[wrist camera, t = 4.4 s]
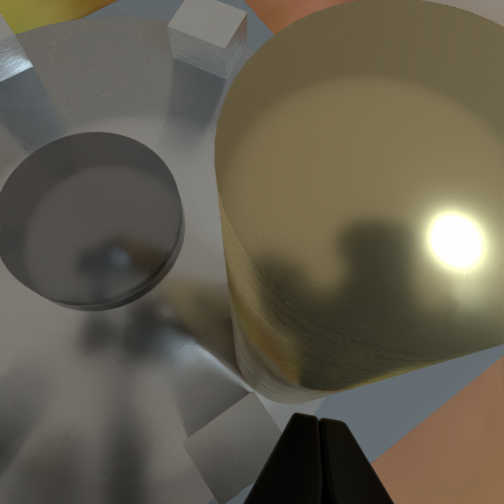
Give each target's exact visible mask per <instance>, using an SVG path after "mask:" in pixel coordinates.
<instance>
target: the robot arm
mask: <svg viewBox="0 0 504 504" xmlns="http://www.w3.org/2000/svg"><path fill="white" fill-rule="evenodd" d="M243 504H394V503H393V501H392V499H391V498H390V496H389V494H388V492H387V491H386V489H385V487H384V486H383V484H382V482H381V481H380V479H379V477H378V476H377V474H376V472H375V471H374V469H373V467H372V466H371V464H370V462H369V461H368V459H367V457H366V456H365V454H364V452H363V451H362V449H361V447H360V446H359V444H358V442H357V441H356V439H355V437H354V436H353V434H352V432H351V431H350V429H349V427H348V426H347V424H346V423H345V422H343V421H340V420H335V419H330V418H324V417H323V418H320V419H319V420H318V418H317V417H316V416H314V415H308V414H303V413H298V412H296V413H294V414H292V416H291V418H290V419H289V421H288V423H287V425H286V427H285V429H284V430H283V432H282V434H281V436H280V438H279V439H278V441H277V443H276V445H275V447H274V449H273V450H272V452H271V454H270V456H269V458H268V459H267V461H266V463H265V465H264V467H263V468H262V470H261V472H260V474H259V476H258V478H257V479H256V481H255V483H254V485H253V487H252V488H251V490H250V492H249V494H248V496H247V498H246V499H245V501H244V503H243Z"/></svg>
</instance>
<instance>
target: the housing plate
mask: <svg viewBox="0 0 504 504" xmlns="http://www.w3.org/2000/svg"><path fill="white" fill-rule="evenodd" d="M217 1H219V2H222V3H225V4H227V5H230V6H233V7H235V8H238V9H241V10H243V11H246V12H247V47H248V48H250V49H252V50H253V51H255V52H256V51H257V50H258V49H259V48H260V47H261V46H262V45H263V44H264V43H265V42H267V41H268V40H269V39H270V38H271V37H273V36H274V34H273V33H272V32H271V31H270V29H269V28H268V27H267V26H266V25H265V24H264V23H263V22H262V20H261V19H260V18H259V17H258V16H257V15H256V14H255V13H254V11H253V10H252V9H251V8H250V7H249V6H248V5H247V4H246V2H245V1H244V0H217ZM183 2H184V0H118V1H116V2H114V3H112V4H110V5H108V6H106V7H104V8H102V9H100V10H98V11H96V12H94V13H92V14H90V15H88V16H86V17H83V18H81V19H87V18H97V17H142V18H152V19H162V20H168V21H171V20H172V18H173V17H174V15H175V14H176V12H177V11H178V9H179V8H180V6H181V5H182V3H183ZM503 355H504V344H503V345H499V346H496V347H493V348H490V349H486V350H483V351H479V352H476V353H473V354H469V355H466V356H462V357H459V358H456V359H452V360H449V361H445V362H442V363H439V364H435V365H432V366H428V367H425V368H422V369H418V370H415V371H412V372H408V373H405V374H401V375H398V376H395V377H391V378H388V379H384V380H381V381H378V382H374V383H371V384H367V385H364V386H361V387H357V388H354V389H350V390H347V391H344V392H340V393H337V394H333V395H330V396H327V397H325V399H324V400H323V402H322V403H321V405H320V406H319V408H318V409H317V411H316V412H315V414H314V416H316V417H317V418H318V420H319V419H320V418H323V417H324V418H330V419H335V420H340V421H343V422H345V423H346V424H347V426H348V427H349V429H350V431H351V432H352V434H353V436H354V437H355V439H356V441H357V442H358V444H359V446H360V447H361V449H362V451H363V452H364V454H365V456H366V457H367V459H368V461H369V462H370V463H372V462H373V461H374V460H375V459H377V458H378V457H379V456H380V455H381V454H383V453H384V452H385V451H386V450H388V449H389V448H390V447H391V446H393V445H394V444H395V443H396V442H397V441H399V440H400V439H401V438H402V437H404V436H405V435H406V434H407V433H409V432H410V431H411V430H412V429H413V428H415V427H416V426H417V425H418V424H420V423H421V422H422V421H423V420H425V419H426V418H427V417H428V416H429V415H431V414H432V413H433V412H434V411H436V410H437V409H438V408H439V407H441V406H442V405H443V404H444V403H445V402H447V401H448V400H449V399H450V398H452V397H453V396H454V395H455V394H457V393H458V392H459V391H460V390H461V389H463V388H464V387H465V386H466V385H468V384H469V383H470V382H471V381H473V380H474V379H475V378H476V377H477V376H479V375H480V374H481V373H482V372H484V371H485V370H486V369H487V368H489V367H490V366H491V365H492V364H493V363H495V362H496V361H497V360H498V359H500V358H501V357H502V356H503ZM255 481H256V480H255ZM255 481H254V482H253V483H251V484H250V485H249V486H248V487H246V488H245V489H244V490H242V491H241V492H240V493H239V494H237V495H236V496H235V497H233V498H232V499H231V500H229V501H228V502H227V503H226V504H243V503H244V501H245V499H246V498H247V496H248V494H249V492H250V490H251V488H252V487H253V485H254V483H255ZM205 504H218V502H217V501H216V499H213V500H211V501H209V502H207V503H205Z"/></svg>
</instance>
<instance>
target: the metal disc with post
mask: <svg viewBox="0 0 504 504" xmlns="http://www.w3.org/2000/svg"><path fill="white" fill-rule="evenodd" d="M503 344H504V27H503V26H501V25H499V24H497V23H495V22H493V21H491V20H488V19H486V18H484V17H481V16H479V15H476V14H474V13H471V12H468V11H465V10H461V9H458V8H455V7H451V6H448V5H443V4H439V3H434V2H429V1H422V0H361V1H354V2H349V3H345V4H340V5H335V6H332V7H329V8H326V9H323V10H320V11H317V12H314V13H312V14H310V15H308V16H306V17H304V18H302V19H299V20H297V21H295V22H294V23H292V24H290V25H289V26H287V27H286V28H284V29H282V30H281V31H279V32H278V33H276V34H275V35H274V36H273V37H271V38H270V39H269V40H268V41H267V42H265V43H264V44H263V45H262V46H261V47H260V48H259V49H258V50H257V51H256V52H255V51H253V50H252V49H250V48H248V47H247V12H246V11H243V10H241V9H238V8H235V7H233V6H230V5H227V4H225V3H222V2H219V1H217V0H184V2H183V3H182V5H181V6H180V8H179V9H178V11H177V12H176V14H175V15H174V17H173V18H172V20H171V21H168V20H162V19H152V18H142V17H97V18H87V19H78V20H71V21H66V22H61V23H56V24H51V25H46V26H42V27H39V28H36V29H33V30H29V31H26V32H23V33H20V34H16V35H14V33H13V32H12V30H11V29H10V27H9V26H8V24H7V23H6V21H5V20H4V18H3V17H2V15H1V14H0V504H205V503H207V502H209V501H211V500H213V499H216V501H217V502H218V504H226V503H227V502H228V501H229V500H231V499H232V498H233V497H235V496H236V495H237V494H239V493H240V492H241V491H242V490H244V489H245V488H246V487H248V486H249V485H250V484H251V483H253V482H254V481H255V480H256V479H257V478H258V476H259V474H260V472H261V470H262V468H263V467H264V465H265V463H266V461H267V459H268V458H269V456H270V454H271V452H272V450H273V449H274V447H275V445H276V443H277V441H278V439H279V438H280V436H281V434H282V432H283V430H284V429H285V427H286V425H287V423H288V421H289V419H290V418H291V416H292V414H294V413H296V412H298V413H303V414H308V415H314V414H315V412H316V411H317V409H318V408H319V406H320V405H321V403H322V402H323V400H324V399H325V397H327V396H330V395H333V394H337V393H340V392H344V391H347V390H350V389H354V388H357V387H361V386H364V385H367V384H371V383H374V382H378V381H381V380H384V379H388V378H391V377H395V376H398V375H401V374H405V373H408V372H412V371H415V370H418V369H422V368H425V367H428V366H432V365H435V364H439V363H442V362H445V361H449V360H452V359H456V358H459V357H462V356H466V355H469V354H473V353H476V352H479V351H483V350H486V349H490V348H493V347H496V346H499V345H503Z"/></svg>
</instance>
